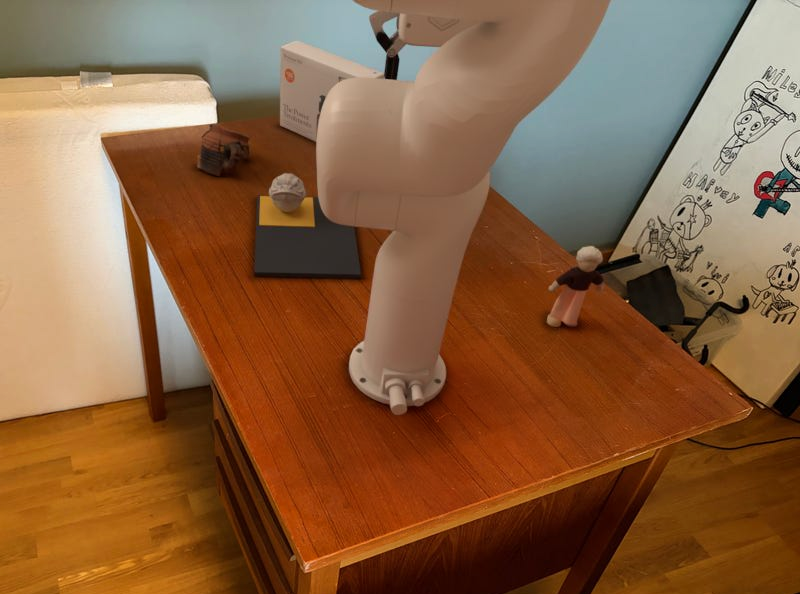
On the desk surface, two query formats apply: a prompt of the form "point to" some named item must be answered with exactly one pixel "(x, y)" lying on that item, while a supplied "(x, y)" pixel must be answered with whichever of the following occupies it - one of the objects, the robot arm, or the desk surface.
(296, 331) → the desk surface
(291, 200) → the carved stone head
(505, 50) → the robot arm
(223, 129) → the pottery mug
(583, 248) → the grandmother figurine
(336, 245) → the desk mat
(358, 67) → the white product box
